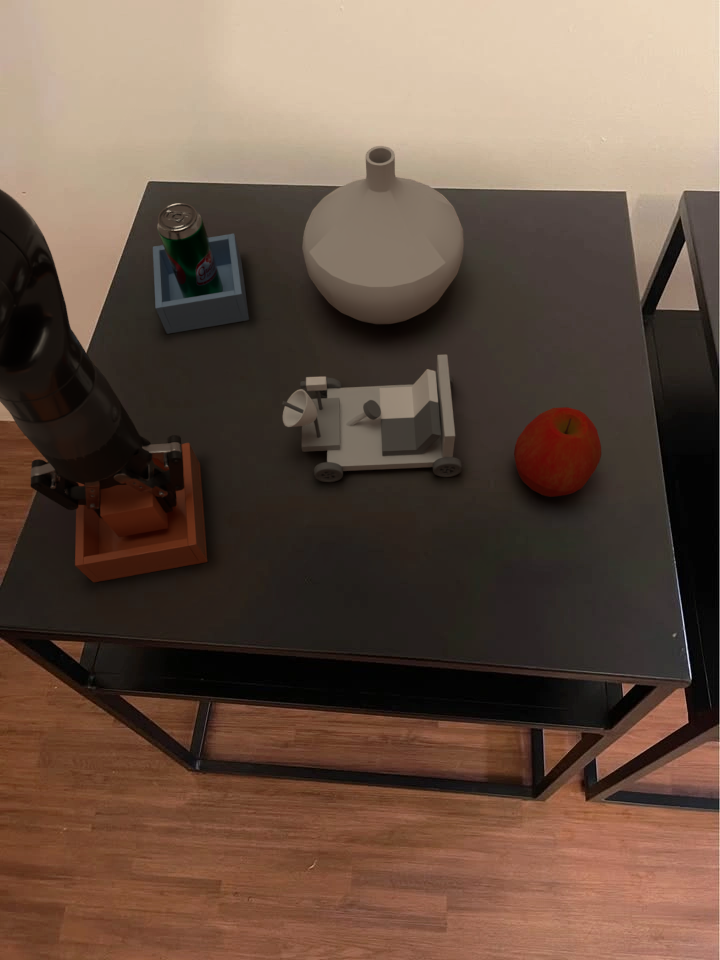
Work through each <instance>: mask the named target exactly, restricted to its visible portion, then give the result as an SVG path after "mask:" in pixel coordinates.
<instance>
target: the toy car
mask: <svg viewBox="0 0 720 960" xmlns="http://www.w3.org/2000/svg"><path fill="white" fill-rule="evenodd" d="M436 356H437V358H436V370H433V369H429V368H426V370H425V371H424V372H423V373H422V374H421V375H420V376H419V378H418V379H416V381H415V382H414V383H413V384H395V385H394V384H393V385H374V386H373V385H372V386H371V385H370V386H356V387H355V386H352V387H343V385H342V382H341V381H340V380H338V379H337V378H334V377H327V376H326V375H325V376H324V375H323V376H306V377H305V380H304V381H301V380H300V385H299V386H300V389H297V390H295V391H294V392H293V393H291V395H290V396H289V397H288V399H287V401H285V400H283V401H282V402H281V405H283V406H284V407H283V410H282V411H283V412H282V422H283V425H284V426H285V427H287V428H295V427H296V428H297V427H301V450H302V453H303V452H324V451H325V452H326V451H327V452H326V461H325V462H320V463H318V464H317V465H316V466H315V467H314V469H313V475H314V476H313V477H314V478H315V480H317V481H320V482H323V483H335V482H338V481H340V480H341V479H342V478H343V476H344V472H347V471H348V472H349V471H350V472H351V471H373V470H394V469H395V470H396V469H417V468H419V469H420V468H432V473H433V474H434V475H435V476H438V477H439V478H440V477H441V478H451V477H455V476H457V475H459V474H460V473H461V472H462V471H463V464H462V460H461V459H459V458H458V457H455V456H454V450H455V441H456V440H455V439H456V430H455V429H456V428H455V422H454V421H455V420H454V411H453V409H454V408H453V400H452V389H453V387H454V378H453V376H452V375H451V374H450V369H449V360H448V354H437V355H436ZM302 388H306V391H305V389H302ZM307 392H315V394H316V398H311V397H310V395H309V394H308V393H307Z"/></svg>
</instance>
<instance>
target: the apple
mask: <svg viewBox="0 0 720 960" xmlns="http://www.w3.org/2000/svg"><path fill="white" fill-rule="evenodd" d="M513 452H514V453H513V456H514V457H513V458H514V461H515V467H516V471H517V473H518V476H519V478H520V479H521V481H522V483H524V484H525V485H526V486H527V487H529V489H530V490H532V491H534V492H536V493H538V495H539V494H540V495H541V496H544V497H550V498H552V497H553V498H554V497H561V496H567V495H572V494H574V493H576V492H577V491H579V490H580V491H581V490H582V489H583V488H584V486H585V485H586V484H587V482H588V481H589V479H590V478H591V477H592V476H593V474H594V473H595V471H596V470H597V467H598V465H599V463H600V461H601V457H602V444H601V439H600V436H599V432H598V429H597V427H596V426H595V423H594V422H593V421H592V420H591V418H589V416H587V414H586V413H585V412H583V411H581V410H580V409H577V408H572V407H568V406H565V407H564V406H563V407H552V408H550V409H547V410H545V411H543V412H541V413H539V414H538V415H537V416H536V417H535V418H533V419H532V420H531V421H530V422H529V423H528V424H527V425H526V426H525V427H524V429H523V430H522V432H521V433H520V435H518V437H517V439H516V442H515V445H514V451H513Z"/></svg>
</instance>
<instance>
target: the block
mask: <svg viewBox="0 0 720 960" xmlns="http://www.w3.org/2000/svg"><path fill="white" fill-rule="evenodd" d="M100 516H101V517H102V518H103V519H104V521H105V522H106V523H107V524H108V525H109V526H110V527H111V529H112V530H113V531H114V532H115V533H116V534H117V536H118V537H122V536H128V535H133V534H139V533H144V532H150V531H155V530H161V529H166V528H168V515H167V513H165V511H164V510H163V508H162V507H161V505H160V504H159V502H158V501H157V499H156V498H155V495H153V494H151V493H149V492H148V491H145V492H143V493H142V492H140V491H138V490H136V489H134V488H133V487H131V486H129V485H116V486H113V487H110V488H105V489H101V488H100Z"/></svg>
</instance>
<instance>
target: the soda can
mask: <svg viewBox="0 0 720 960" xmlns="http://www.w3.org/2000/svg"><path fill="white" fill-rule="evenodd" d="M156 226H157V227H156V229H157V232H158V233H157V234H158V235H159V237H160V240H161V243H162V245H163V246H164V248H165V251H166V254H167V256H168V259H169V261H170V264H171V267H172V269H173V272H174V274H175V277H176V280H177V282H178V285H179V288H180V290H181V293H182V295H183V298H190V297H196V296H202V295H208V294H214V293H220V292H222V291H223V285H222V282H221V278H220V275H219V272H218V269H217V265H216V262H215V259H214V256H213V252H212V249H211V246H210V243H209V239H208V238H209V236H208V233H207V230H206V226H205V222H204V220H203V217H202V215H201V214H200V213H199V212H198V211H197V210H196V209H195V207H194V206H192V205H191V204H189V203H185V202H176V203H172V204H169V205H167V206H165V207H164V208H163V209H162V210H161V211H160V212H159V214H158V216H157V225H156Z"/></svg>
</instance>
